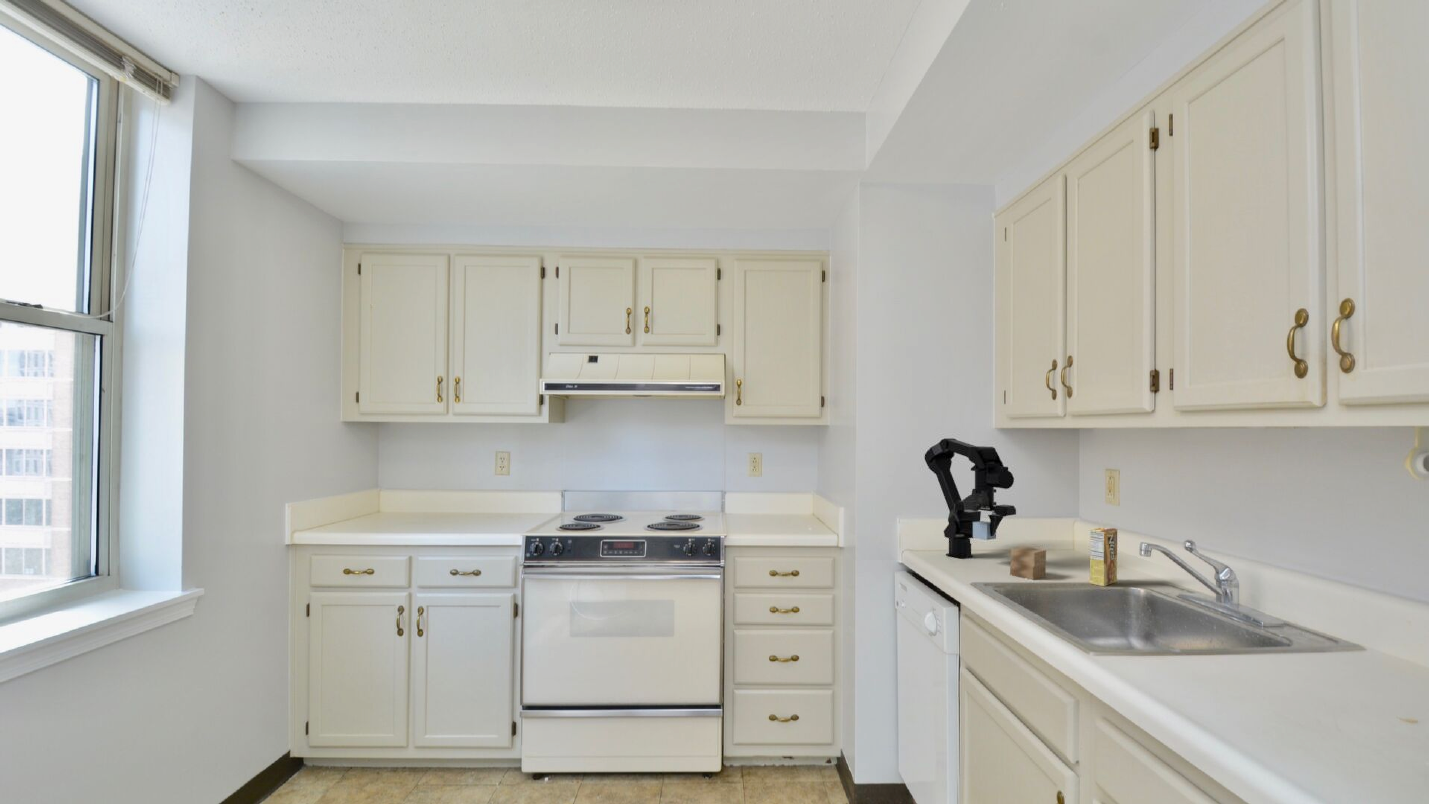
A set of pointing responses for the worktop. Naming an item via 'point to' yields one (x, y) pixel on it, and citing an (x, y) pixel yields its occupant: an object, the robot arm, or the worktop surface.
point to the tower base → (1027, 571)
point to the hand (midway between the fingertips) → (984, 534)
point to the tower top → (1028, 556)
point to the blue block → (982, 530)
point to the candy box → (1103, 556)
